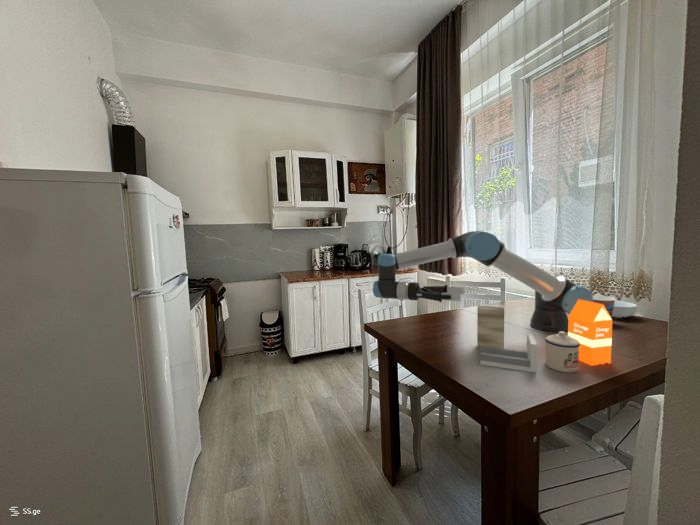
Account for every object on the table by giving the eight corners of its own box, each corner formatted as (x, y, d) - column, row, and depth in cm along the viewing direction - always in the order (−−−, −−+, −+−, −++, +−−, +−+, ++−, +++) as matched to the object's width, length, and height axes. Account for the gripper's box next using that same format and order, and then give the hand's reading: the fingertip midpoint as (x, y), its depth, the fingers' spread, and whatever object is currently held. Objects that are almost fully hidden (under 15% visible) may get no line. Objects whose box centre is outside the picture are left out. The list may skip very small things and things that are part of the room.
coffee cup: (607, 327, 131) (608, 301, 130) (581, 321, 141) (582, 297, 140) (619, 323, 136) (620, 298, 135) (593, 318, 145) (594, 294, 144)
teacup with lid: (568, 376, 88) (569, 338, 87) (538, 364, 97) (539, 330, 96) (590, 367, 94) (591, 332, 93) (559, 357, 102) (560, 324, 101)
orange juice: (591, 365, 95) (593, 305, 93) (566, 355, 103) (568, 299, 102) (611, 363, 96) (613, 303, 94) (585, 353, 105) (587, 298, 103)
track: (480, 364, 98) (480, 338, 98) (481, 352, 108) (481, 328, 107) (536, 372, 91) (536, 344, 91) (531, 359, 101) (532, 333, 100)
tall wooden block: (477, 345, 116) (478, 305, 114) (503, 348, 112) (503, 307, 110) (477, 349, 112) (477, 308, 110) (503, 352, 108) (504, 309, 106)
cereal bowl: (646, 320, 138) (647, 306, 138) (610, 321, 139) (611, 307, 138) (615, 311, 155) (616, 298, 155) (583, 312, 156) (583, 299, 155)
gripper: (415, 294, 135) (464, 297, 126) (400, 306, 113) (459, 310, 103) (415, 278, 134) (464, 280, 125) (400, 287, 112) (459, 290, 103)
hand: (462, 294), depth 114 cm, fingers open, 13 cm apart
